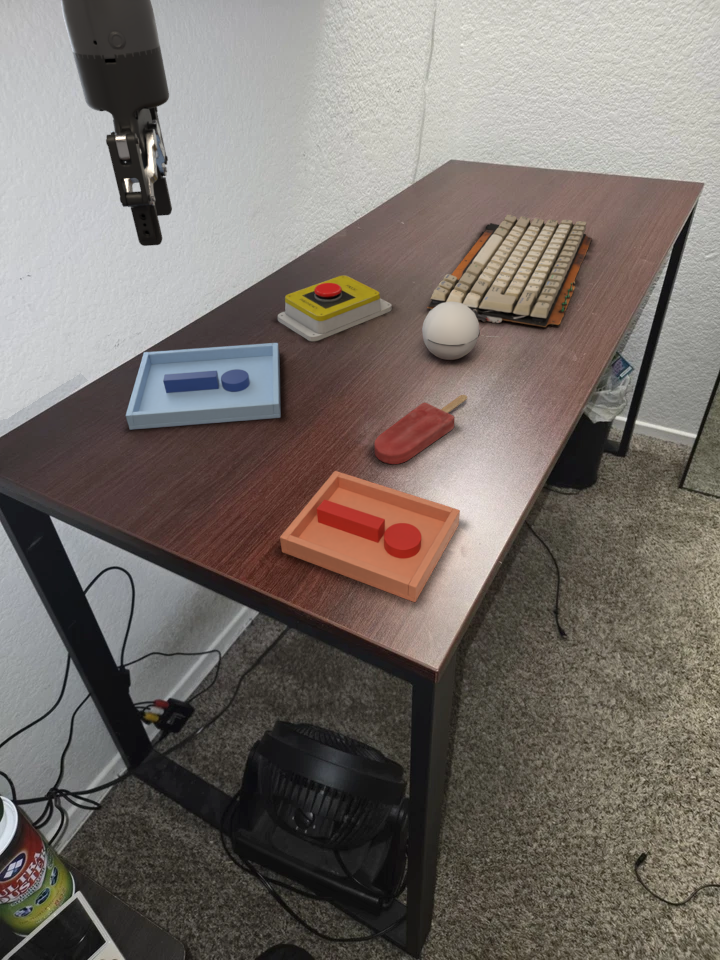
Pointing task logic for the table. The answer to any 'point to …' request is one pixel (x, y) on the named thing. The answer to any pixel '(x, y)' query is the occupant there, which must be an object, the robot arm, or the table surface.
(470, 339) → the seamed sphere
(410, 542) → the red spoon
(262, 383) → the blue tray
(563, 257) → the mechanical keyboard
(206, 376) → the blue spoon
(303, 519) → the clay tray
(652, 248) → the table surface
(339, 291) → the emergency button
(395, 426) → the popsicle
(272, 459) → the table surface
